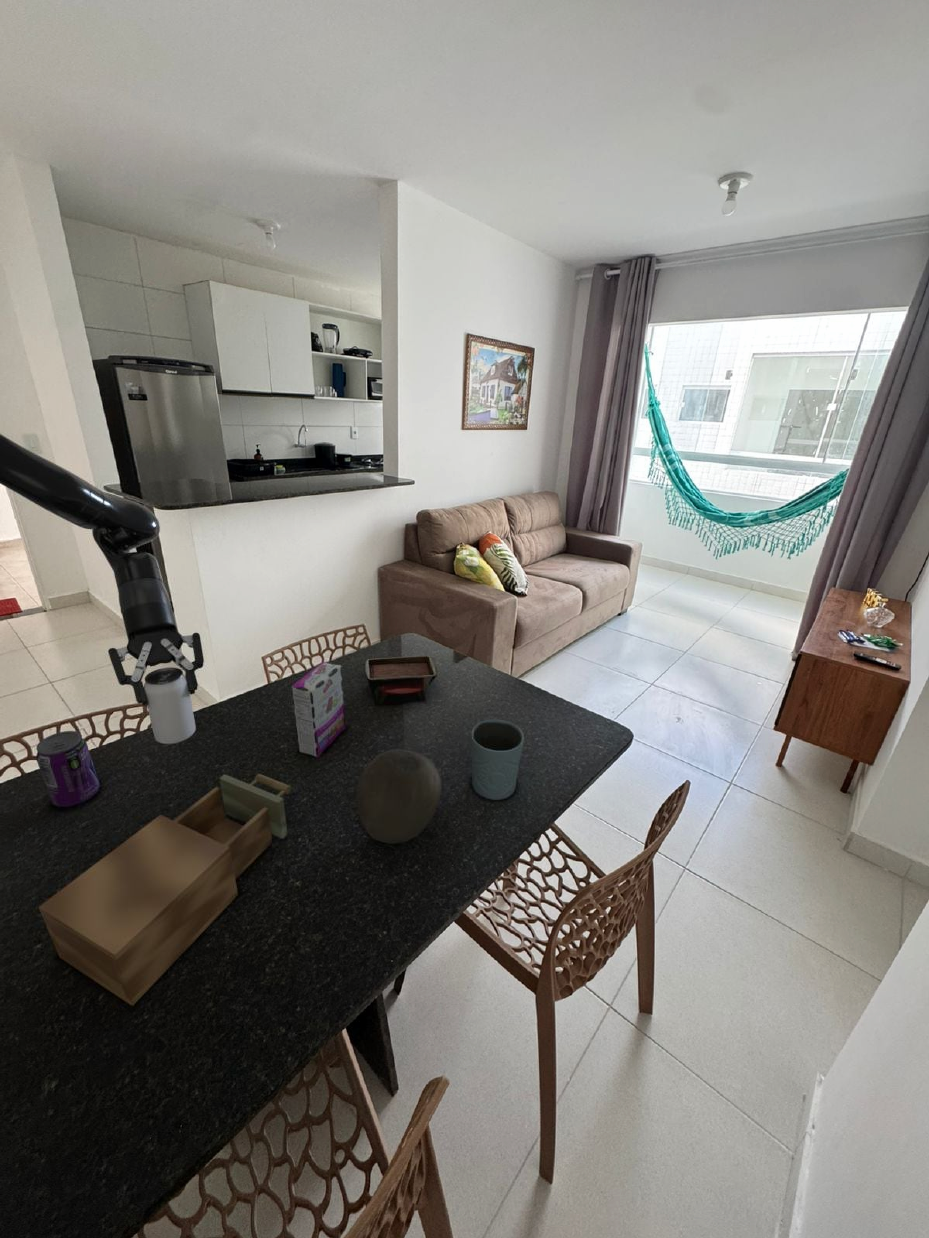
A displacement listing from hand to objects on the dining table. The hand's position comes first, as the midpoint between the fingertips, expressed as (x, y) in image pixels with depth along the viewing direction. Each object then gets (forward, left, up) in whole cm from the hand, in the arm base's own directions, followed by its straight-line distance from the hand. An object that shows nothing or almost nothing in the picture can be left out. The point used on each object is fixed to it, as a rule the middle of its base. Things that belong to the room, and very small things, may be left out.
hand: (169, 698), depth 86 cm
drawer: (+17, -5, -20) cm, 27 cm away
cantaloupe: (+39, +10, -21) cm, 45 cm away
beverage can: (-17, -9, -21) cm, 29 cm away
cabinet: (+17, -20, -21) cm, 33 cm away
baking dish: (+17, +49, -21) cm, 56 cm away
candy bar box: (+12, +24, -21) cm, 34 cm away
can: (-1, +1, -9) cm, 9 cm away
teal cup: (+50, +28, -21) cm, 61 cm away
